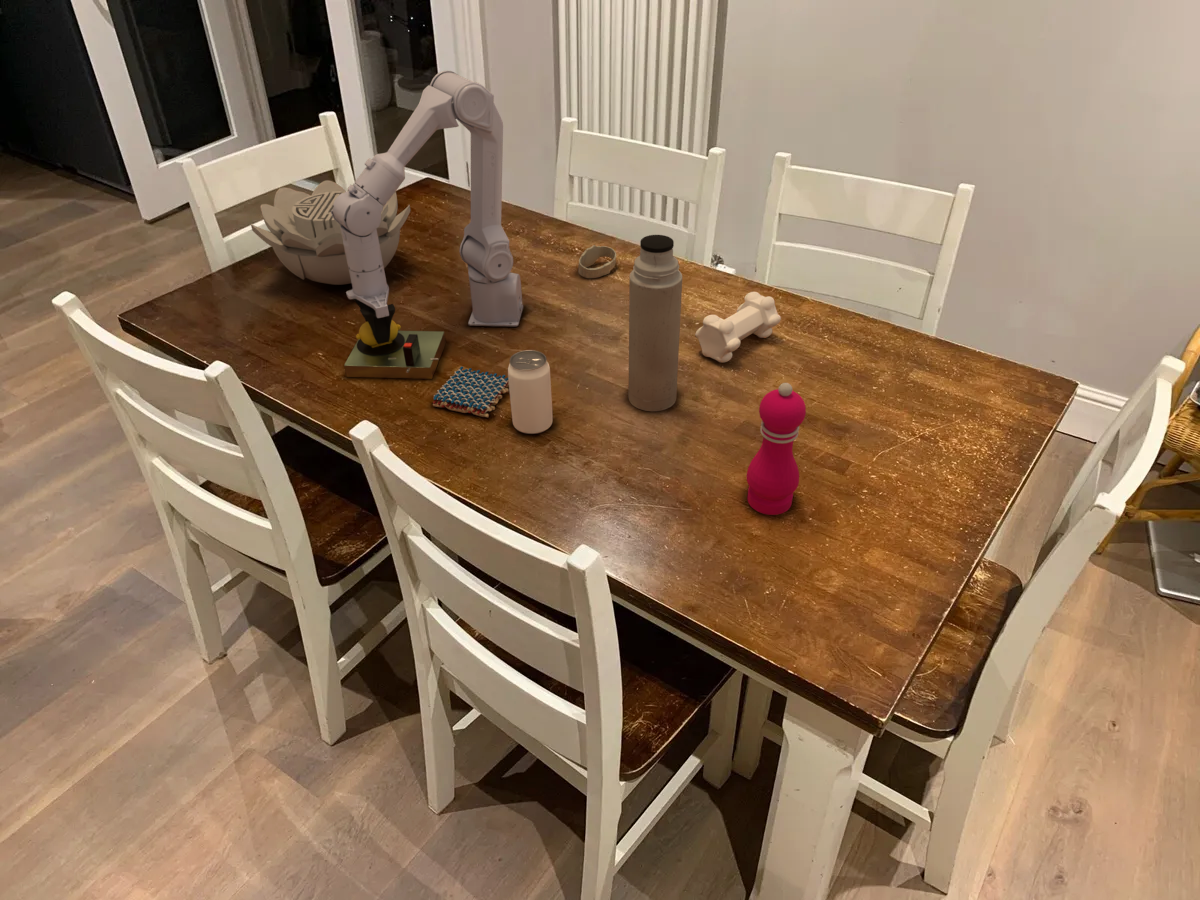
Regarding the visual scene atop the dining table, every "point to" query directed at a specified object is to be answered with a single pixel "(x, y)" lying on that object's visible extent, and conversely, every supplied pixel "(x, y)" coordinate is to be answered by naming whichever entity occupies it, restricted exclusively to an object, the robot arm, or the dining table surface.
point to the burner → (382, 347)
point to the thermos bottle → (654, 325)
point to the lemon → (368, 336)
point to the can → (530, 392)
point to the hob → (399, 359)
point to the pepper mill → (776, 452)
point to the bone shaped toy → (737, 326)
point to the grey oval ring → (590, 258)
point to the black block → (411, 349)
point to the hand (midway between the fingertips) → (379, 335)
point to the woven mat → (471, 392)
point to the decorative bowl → (320, 233)
